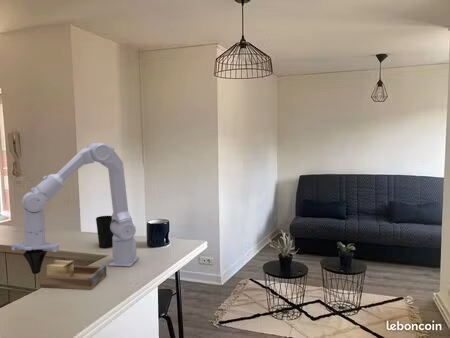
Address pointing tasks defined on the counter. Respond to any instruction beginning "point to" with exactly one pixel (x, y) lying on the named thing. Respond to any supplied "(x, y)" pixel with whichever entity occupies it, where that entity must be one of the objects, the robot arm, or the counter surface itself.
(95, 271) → the bay
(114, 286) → the counter surface
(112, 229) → the robot arm
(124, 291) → the counter surface
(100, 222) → the cup
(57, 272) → the box
